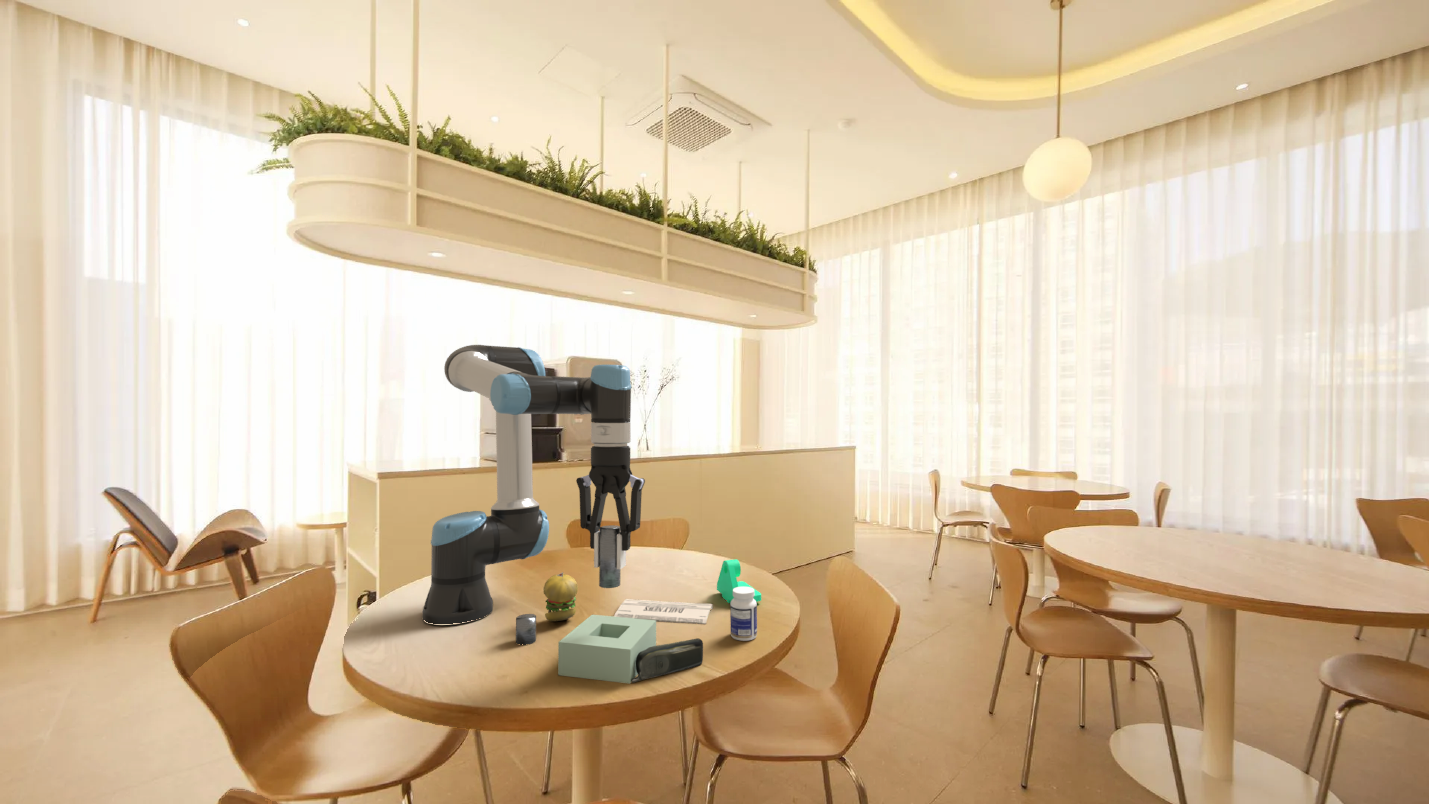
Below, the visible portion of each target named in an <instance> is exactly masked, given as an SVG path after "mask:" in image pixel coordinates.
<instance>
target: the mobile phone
mask: <svg viewBox="0 0 1429 804" xmlns="http://www.w3.org/2000/svg"><path fill="white" fill-rule="evenodd" d="M703 661H704V643H703V640H702V639H700V638H697V637H696V638H692V639H687V640H681V641H680V640H679V641H676V642H672V643H663V644H658V645H657V644H656V646H652V647H649V648H647V649H646V650H643V651H641V652H640V653H639V654H638V655H637V657H636V671H637V673H638V674H637V676H636V677H635V678H633V679H631V684H632V683H633V684H634V683H637V682H640V681H644V680H647V679H653V678H655V677H660V676H664V675H668V674H671V673H675V672H680V671H685V670H689V669H693V668H696V667H700V666H701V665H702V664H703Z"/></svg>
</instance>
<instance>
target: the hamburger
mask: <svg viewBox="0 0 1429 804" xmlns="http://www.w3.org/2000/svg"><path fill="white" fill-rule="evenodd" d="M578 591H579V586H578V582H577V580H576V579H575V578H574V577H573V576H571V575H569V574H566V573H564V572H561V573H558V574H554V575H552V576H550V577H549V578H548V579H547V580H546V582H545V583H544V586H543V594H544V596H545V597H546V600H545V602H544V603H546V605H545V609H546V610H547V612H546V613H545V614H544V618H545V619H546V620H548V621H549V622H561V621H566V620H569V619H571V618H573V617H574V616H575V614H576V612H577V611H576V610H577V609H576V608H575V607H576V601H577V598H576V595H578V594H577V593H578Z"/></svg>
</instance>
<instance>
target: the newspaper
mask: <svg viewBox="0 0 1429 804" xmlns="http://www.w3.org/2000/svg"><path fill="white" fill-rule="evenodd" d="M713 608H714V604H712V603H710V602H709V603H704V602H702V603H701V602H682V601H680V602H679V601H661V600H650V599H649V600H648V599H632V598H625V599H624V600H623V601H622V603H620V605H619V607H618V608H617V610H616V611H615V613H614V615H613V616H614V617H624V618H635V619H646V620H656V622H663V623H678V624H692V625H693V624H695V625H697V624H698V625H707V621H708V617H709V615H710V612H711V611H710V609H712V610H713ZM696 623H697V624H696Z"/></svg>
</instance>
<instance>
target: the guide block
mask: <svg viewBox="0 0 1429 804" xmlns="http://www.w3.org/2000/svg"><path fill="white" fill-rule="evenodd" d="M557 645H558V646H557V647H558V648H557V649H558V653H557V655H558V656H557V657H558V659H557V661H558V662H557V664H558V667H557V668H558V670H557V672H558V673H557V674H558V676H563V677H572V678H579V679H588V680H589V679H590V680H596V681H597V680H598V681H605V682H613V683H623V684H630V685H631V684H632V682H631V679H633V678H637V677H638V673H637V671H636V657H637V655H638V654H639V653H640V652H641V651H643V650H646V649H647V648H649V647H652V646H657V621H656V620H646V619H635V618H624V617H614V615H611V616H610V615H601V614H591V615H590V616H588V617H587V618H586V619H585V620H583V622H581V623H579V625H577V627H575V628H573V630H571V631H570V632H569V633H568V634H566V635H565V636H564V637H562V639H560V640H559V641H558V644H557Z"/></svg>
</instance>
